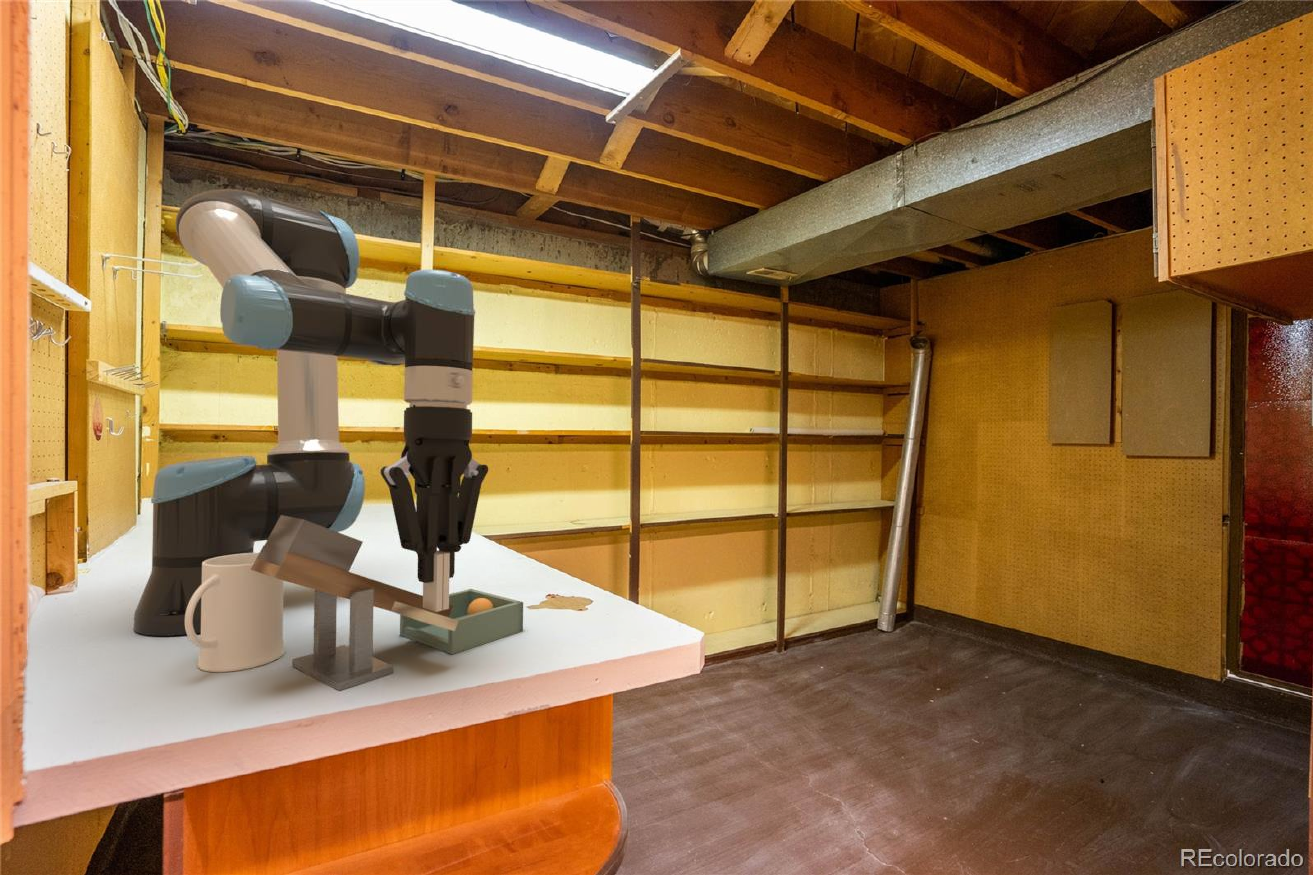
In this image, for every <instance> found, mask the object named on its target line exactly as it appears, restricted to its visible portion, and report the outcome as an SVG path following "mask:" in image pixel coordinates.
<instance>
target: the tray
mask: <svg viewBox="0 0 1313 875" xmlns="http://www.w3.org/2000/svg"><path fill="white" fill-rule="evenodd" d="M478 598H485V599H488V600H489V601H490V602H491V603H492V604H493V607H494V608H493V609H489V610H486V611H482V612H479V613H475V614H471V615H468V614H467V610H468V607H469V605H470V604H471V602H473V601H474V600H476V599H478ZM449 605H452V606H453V608H452V610H451V613H450V615H449V618H452V619H455V620H458V624H457V626H456V629H455V631H453V630H449V629H446V628H442V627H439V626H435V625H432V624H428V623H425V622H421V621H418V620H415V619H412V618H409V617H406V616H403V615H400V614H399V636H402V637H404V638H407V639H409V640H412V641H415V642H417V641H418V642H417V643H420V644H422V643H423V645H425V646H428V647H431V646H432V647H431V648H433V647H434V648H433V649H436V648H437V649H436V650H440V651H441V650H443V651H442V652H444V651H446V652H445V653H447V654H449V653H450V654H449V655H454V654H458V653H461V652H464V651H467V650H470V649H473V648H475V647H478V646H481V645H485V644H487V643H490V642H494V641H497V640H499V639H503V638H506V637H508V636H512V635H514V634H517V633H520V632H523V631H524V602H523V601H520V600H516V599H512V598H509V597H505V596H500V595H496V594H492V593H488V592H485V591H481V590H478V589H473V588H469V589H465V590H459V591H456V592H452V593H449ZM463 650H464V651H463Z"/></svg>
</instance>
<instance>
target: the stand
mask: <svg viewBox="0 0 1313 875" xmlns="http://www.w3.org/2000/svg"><path fill="white" fill-rule="evenodd" d="M337 598H338V596H336V595H332V594H329V593H325V592H322V591H319V590H315V589H314V598H313V599H314V600H313V602H314V603H313V605H314V606H313V653H310V654H307V655H303V656H300V657H295V658H292V659H291V660H292V663H291V664H292V665H291V666H292V667H293V668H295V669H297V670H299V671H301V672H303V673H304V674H306V675H308V676H310V677H312V678H314V679H316V680H317V681H319V682H321V683H324V684H325V685H328V686H329V687H330V688H333V689H335V690H337V691H338V692H340V691H343V690H346V689H349V688H352V687H355V686H359V685H361V684H365V683H367V682H370V681H372V680H373V681H374V680H376V679H379V678H382V677H384V676H385V677H386V676H388V675H391V674H394V665H392V664H390V663H388V662H385V661H383V660H380V659H378V658H377V657H374V656H373V653H374V649H373V648H374V646H373V645H374V606H373V602H374V589H372V588H369V587H367V588H362V589H357V590H352V591H350V599H349V636H348V637H349V639H348V642H349V643H348V645H349V646H348V645H346V644H343V645H340V646H337V610H338V609H337V603H338V602H337V600H338V599H337Z"/></svg>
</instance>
